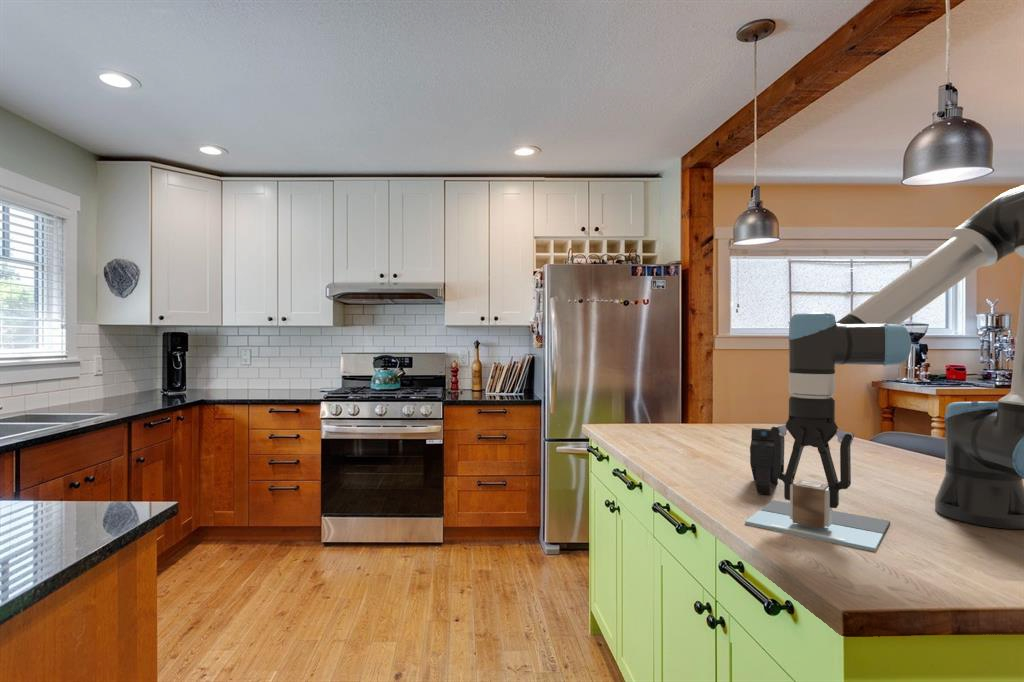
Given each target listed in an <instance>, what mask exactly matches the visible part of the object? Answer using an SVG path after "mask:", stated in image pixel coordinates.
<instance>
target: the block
mask: <svg viewBox="0 0 1024 682" xmlns="http://www.w3.org/2000/svg"><path fill="white" fill-rule="evenodd" d="M795 482H796V483H795V484H793V523H797V524H802V525H807V526H812V527H817V528H821V529H823V528H824V527H825V526H824V504H825V489H826V488H828V487H829V485H828V483H821V482H816V481H809V480H803V479H798V480H797V481H795Z"/></svg>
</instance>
